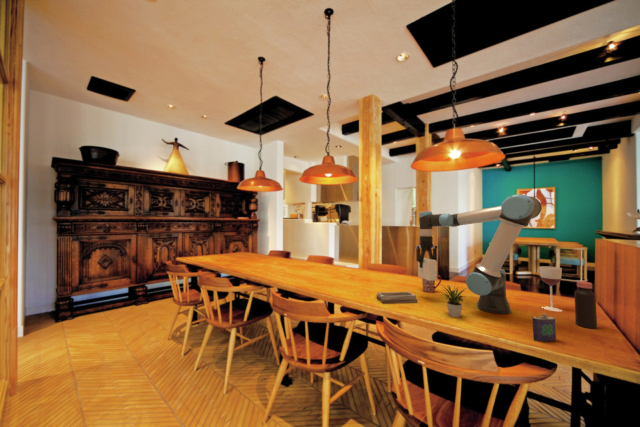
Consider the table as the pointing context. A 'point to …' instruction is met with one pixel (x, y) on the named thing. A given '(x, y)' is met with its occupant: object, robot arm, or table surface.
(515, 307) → the table surface
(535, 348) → the table surface
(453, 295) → the house plant
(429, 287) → the mug
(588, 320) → the bottle
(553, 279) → the wineglass
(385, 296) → the grey wooden tray
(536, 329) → the flask
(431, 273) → the beige rectangular block
